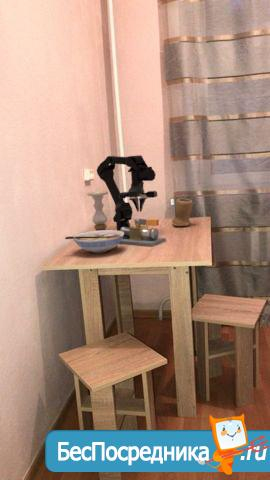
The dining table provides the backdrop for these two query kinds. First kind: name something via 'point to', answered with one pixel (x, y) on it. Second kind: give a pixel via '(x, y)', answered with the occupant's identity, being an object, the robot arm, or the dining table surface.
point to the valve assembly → (141, 236)
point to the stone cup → (182, 212)
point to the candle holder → (98, 210)
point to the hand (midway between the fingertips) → (139, 211)
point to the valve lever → (147, 222)
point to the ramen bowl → (98, 240)
